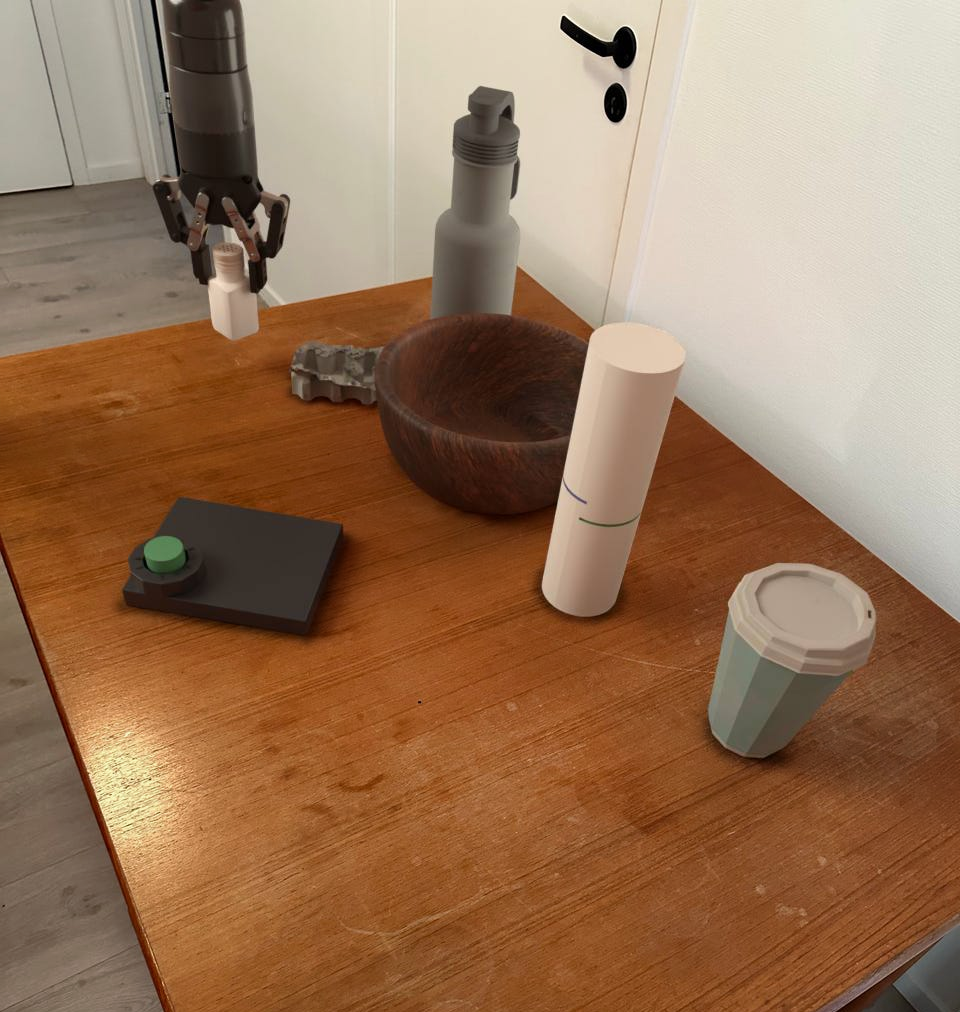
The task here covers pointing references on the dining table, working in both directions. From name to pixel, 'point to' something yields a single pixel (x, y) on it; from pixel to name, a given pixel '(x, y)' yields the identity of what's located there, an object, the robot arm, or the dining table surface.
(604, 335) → the cylindrical container
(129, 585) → the dark grey flat block
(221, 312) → the pepper shaker
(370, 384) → the egg carton
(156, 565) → the button
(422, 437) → the wooden bowl
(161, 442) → the dining table surface
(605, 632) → the dining table surface
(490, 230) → the water bottle
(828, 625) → the disposable coffee cup
